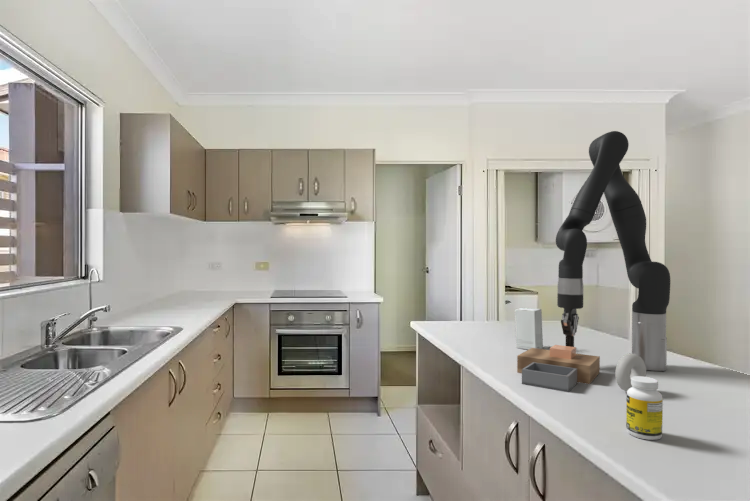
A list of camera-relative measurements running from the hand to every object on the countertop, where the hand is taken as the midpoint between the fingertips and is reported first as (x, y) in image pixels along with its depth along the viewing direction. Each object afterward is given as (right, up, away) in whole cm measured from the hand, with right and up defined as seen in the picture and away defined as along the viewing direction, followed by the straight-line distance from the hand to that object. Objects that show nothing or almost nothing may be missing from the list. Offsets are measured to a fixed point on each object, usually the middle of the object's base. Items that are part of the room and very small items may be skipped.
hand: (569, 347), depth 145 cm
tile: (-5, -1, -7) cm, 9 cm away
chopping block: (-6, -6, -7) cm, 11 cm away
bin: (-13, -6, -18) cm, 23 cm away
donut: (+5, -6, -26) cm, 27 cm away
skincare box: (-4, -6, +27) cm, 28 cm away
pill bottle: (-8, -6, -53) cm, 54 cm away
